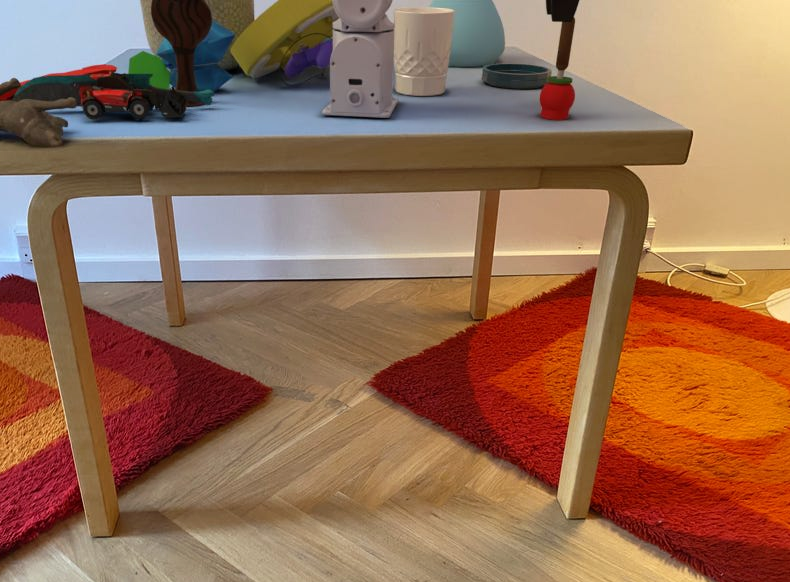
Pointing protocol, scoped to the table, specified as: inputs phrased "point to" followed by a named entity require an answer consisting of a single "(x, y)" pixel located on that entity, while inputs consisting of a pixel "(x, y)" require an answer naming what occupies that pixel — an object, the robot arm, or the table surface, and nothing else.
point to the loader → (126, 98)
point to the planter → (227, 8)
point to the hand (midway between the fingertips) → (558, 18)
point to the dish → (516, 75)
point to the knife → (64, 88)
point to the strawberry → (559, 80)
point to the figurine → (183, 35)
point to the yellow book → (282, 34)
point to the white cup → (422, 49)
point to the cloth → (84, 71)
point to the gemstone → (150, 69)
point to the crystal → (203, 59)
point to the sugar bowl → (474, 32)
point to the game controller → (309, 58)
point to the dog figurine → (33, 118)
